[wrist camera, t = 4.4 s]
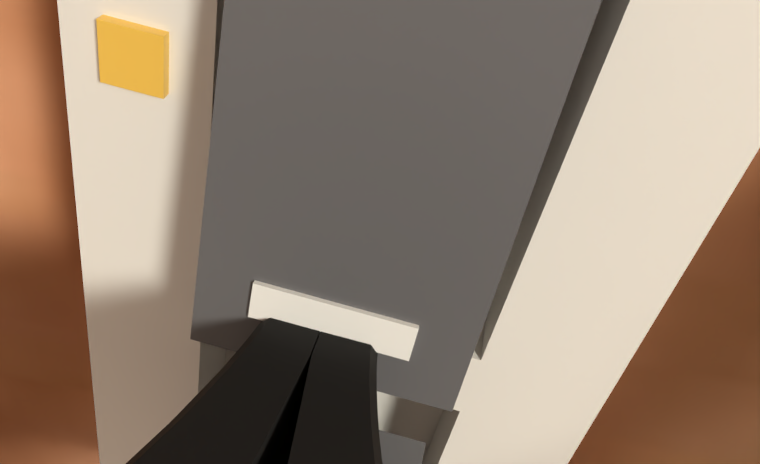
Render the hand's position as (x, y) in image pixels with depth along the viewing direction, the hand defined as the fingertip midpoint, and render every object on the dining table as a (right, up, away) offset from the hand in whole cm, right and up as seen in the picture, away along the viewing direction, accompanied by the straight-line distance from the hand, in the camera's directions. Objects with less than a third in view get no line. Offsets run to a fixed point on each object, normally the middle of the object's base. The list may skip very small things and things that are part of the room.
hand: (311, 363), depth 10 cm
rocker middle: (+1, +3, -2) cm, 3 cm away
